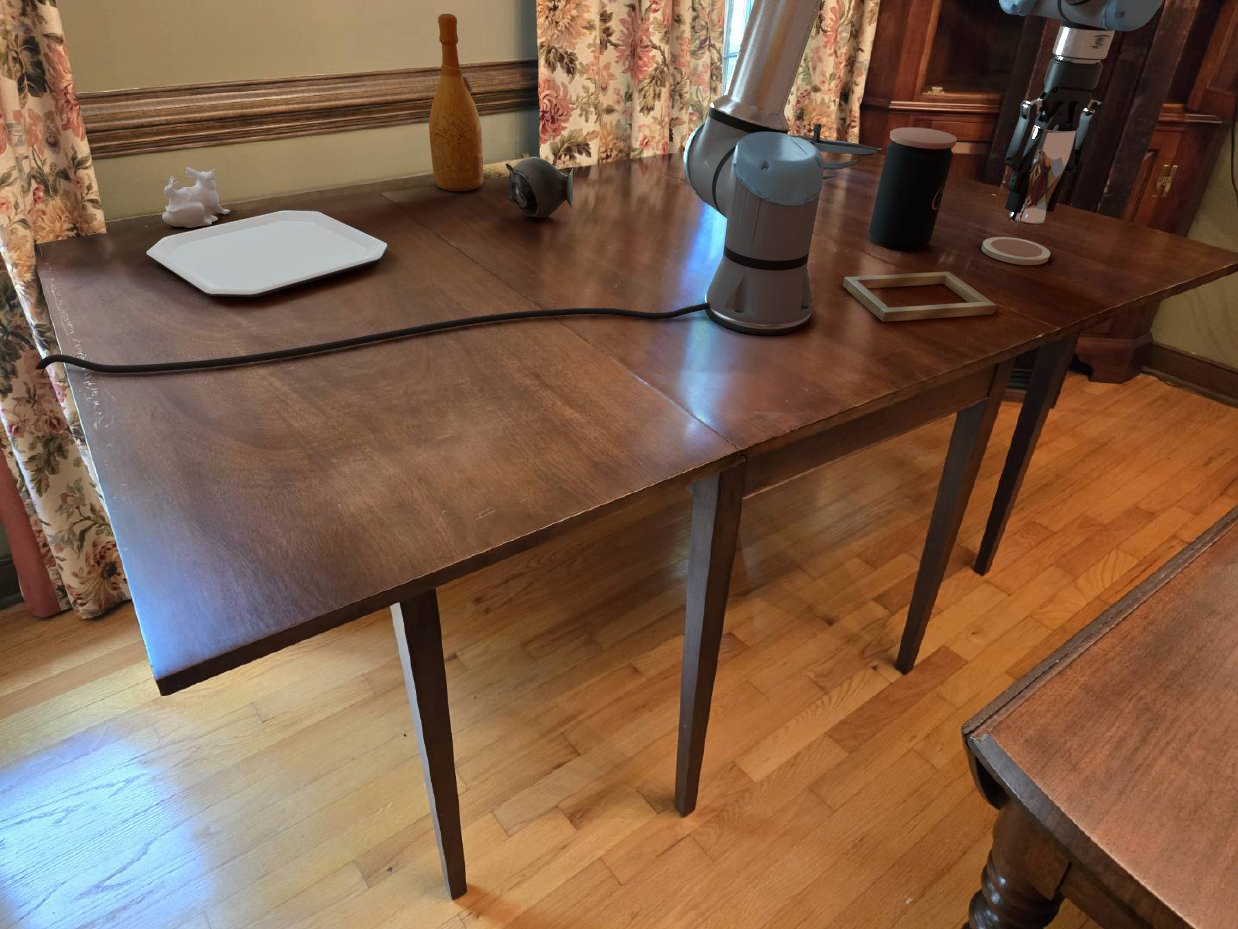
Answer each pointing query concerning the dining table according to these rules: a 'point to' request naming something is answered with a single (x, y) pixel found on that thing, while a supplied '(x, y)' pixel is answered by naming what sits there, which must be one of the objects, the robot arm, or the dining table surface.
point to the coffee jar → (911, 188)
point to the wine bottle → (454, 120)
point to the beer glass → (1044, 173)
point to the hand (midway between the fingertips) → (1029, 209)
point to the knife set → (838, 150)
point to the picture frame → (972, 308)
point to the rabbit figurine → (193, 201)
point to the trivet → (1015, 251)
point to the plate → (266, 253)
